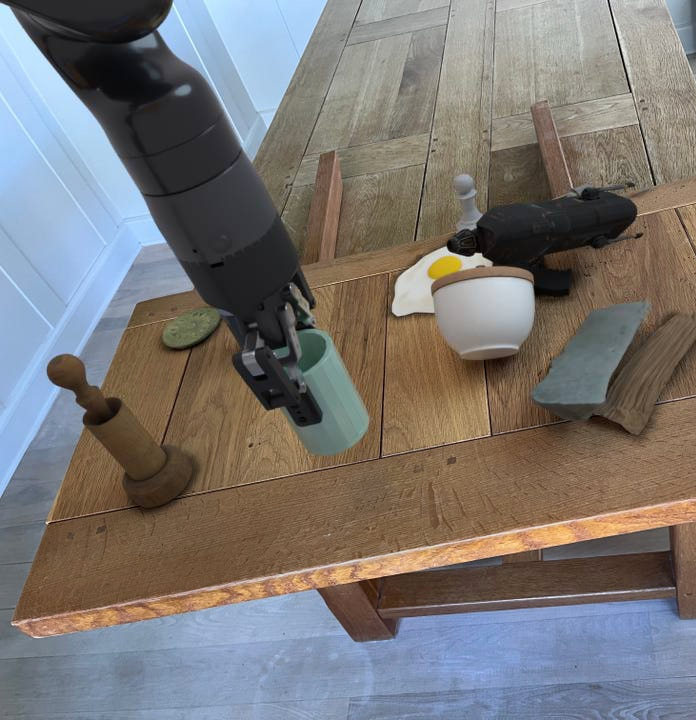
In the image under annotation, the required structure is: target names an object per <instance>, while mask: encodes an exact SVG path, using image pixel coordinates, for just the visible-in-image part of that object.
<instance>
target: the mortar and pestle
mask: <svg viewBox="0 0 696 720" xmlns="http://www.w3.org/2000/svg"><path fill="white" fill-rule="evenodd" d="M47 363H48V364H47V365H46V376H47V378H48V380H49V381H50V382H51V383H52V384H53V385H54V386H57V387H59V388H61V389H65V390H69V391H72V392H73V393H74V395H75V403H76V404H77V405H78V406H80V408H82V409H84V410H85V412H84V414H83V416H82V418H81V420H82V421H81V422H82V424H83V425H84V427H85V428H86V429H87V430H88V431H89V432H90V433H91V434H92V435H93V437H95V439H96V440H97V441H98V442H99V443H100V445H102V446H103V447H104V448H105V450H106V451H107V452H108V453H109V454H110V455H111V456H112V458H113V459H114V460H115V461H116V462H117V463H118V464H119V466H121V468H122V469H123V471H124V472H123V474H122V479H121V485H122V489H123V490H124V492H125V493H126V494H127V495H128V496H129V497H130V498H131V500H132V501H134V503H135V504H136V505H138V506H139V507H143V508H148V509H149V508H151V509H152V508H156V507H159V506H162V505H165V504H167V503H169V502H170V501H172V500H174V499H175V498H177V497H178V496H179V495H180V494H182V492H183V491H184V490H185V489H186V487H187V486H188V484H189V482H190V480H191V478H192V474H193V466H192V464H191V461H190V460H189V459H188V458H187V456H186V455H185V454H184V452H182V450H181V449H180V448H179V447H178V446H176V445H173V444H159V443H158V442H157V441H156V440H155V438H153V437H152V435H151V434H150V432H149V431H148V430H147V429H146V428H145V426H144V425H143V424H142V423H141V421H140V420H139V419H138V417H136V416H135V414H134V413H133V412H132V410H131V409H130V408H129V407H128V405H127V404H126V403H125V402H124V400H123V399H122V398H120V397H118V396H108V397H105V396H104V393H103V392H102V389H101V388H100V387H99V386H98V385H91V384H89V382H88V381H87V371H86V366H85V363H84V362H83V360H81V359H80V357H78V356H76V355H74V354H71V353H61V354H58V355H56V356H53V358H51V359H50V360H49V362H47Z"/></svg>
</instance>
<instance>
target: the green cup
mask: <svg viewBox="0 0 696 720" xmlns="http://www.w3.org/2000/svg"><path fill="white" fill-rule="evenodd" d="M296 333H297V336H298V340H299V343H300V346H301V349H302V352H303V358H302V360H301V361H300V363H299V364H300V367H301V370H302V373H303V377H304V380H305V382H306V384H307V385H308V387H309V389H310V391H311V393H312V394H313V396H314V398H315V400H316V401H317V403H318V405H319V407H320V409H321V410H322V412H323V417H322V422H321V423H319V424H315V425H310V426H305V427H299V426H297V425H296V424H295V422H294V421H293V419H292V417H291V416H290V414H289V412H288V411H287V409H286V407H280V408H279V409H280V411H281V412H282V413H283V416H285V418H286V421H287V422H288V423H289V425H290V427H291V428H292V430H293V432H294V433H295V435H296V436H297V438H298V440H299V441H300V443H301V444H302V446H303V448H304V449H305V450H306V451H307V452H308V453H310V454H312V455H315V456H318V457H330V456H334V455H338V454H342V453H344V452H345V451H347V450H349V449H351V448H352V447H353V446H355V445H356V444H357V443H359V441H360V440H362V438H363V437H364V436H365V434H366V432H367V431H368V429H369V425H370V415H369V412H368V410H367V407H366V405H365V403H364V401H363V399H362V397H361V395H360V393H359V391H358V389H357V386H356V385H355V383H354V381H353V379H352V376H351V375H350V373H349V371H348V369H347V367H346V365H345V363H344V361H343V359H342V356H341V355H340V353H339V351H338V349H337V347H336V345H335V343H334V340H333V339H332V337H331V336H330V335H329V334H328V332H326V331H325V330H321V329H318V328H316V329H304V330H299V331H296ZM272 352H276V353H277V356H279V355H283V354H287V353H289V348H288V346H287V347H285V348H280V349H276V350H272ZM283 369H284V370H285V372H286V373H287V374H288V376H289V377H290V379H292V377H291V374H290V371H289V369H288V368H287V367H283Z"/></svg>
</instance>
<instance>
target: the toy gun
mask: <svg viewBox="0 0 696 720" xmlns="http://www.w3.org/2000/svg"><path fill="white" fill-rule="evenodd" d="M492 263H493V264H492V267H493V266H504V265H501V264H497V263H494V262H492ZM505 266H506V267H515V268H521V269H524V270H527V271H529V272H530V273H531V274H532V275H533V278H534V287H533V288H534V295H535V294H538V295H542V296H547V297H552V298H565V297H566V296H568V297H569V296H570V294H571V288H572V280H573V271H572V268H567V269H559V268H554V269H553V268H546V267H544V256H539V257H537V258H534V259H532V260H530V261H523V262H518V263H514V264H509V265H505Z"/></svg>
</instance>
